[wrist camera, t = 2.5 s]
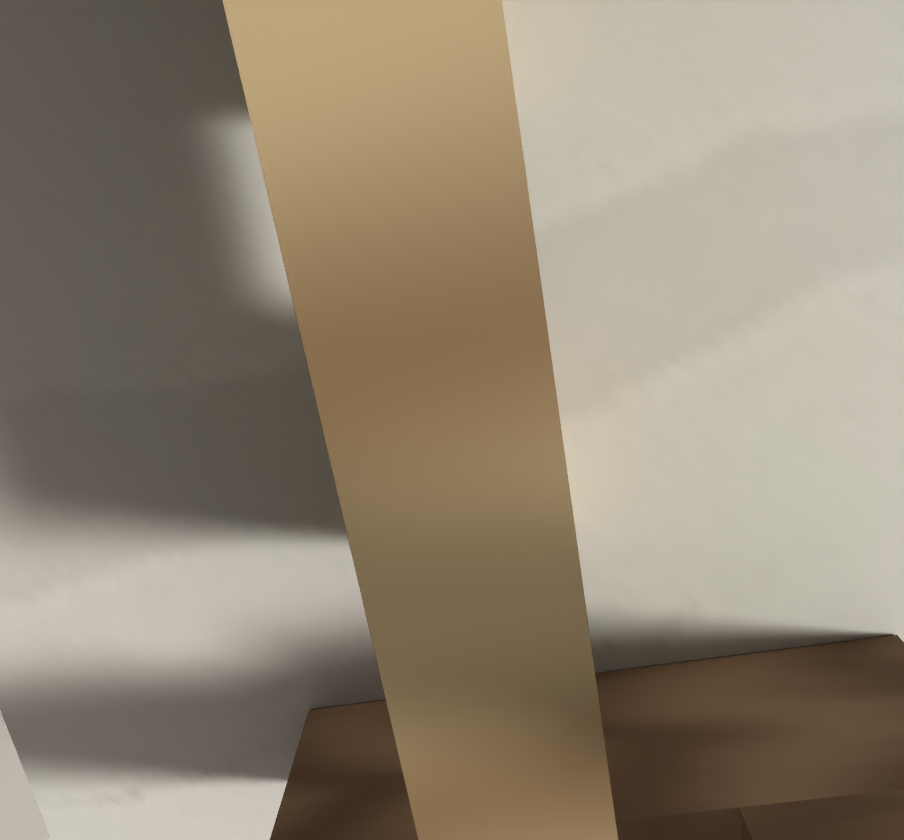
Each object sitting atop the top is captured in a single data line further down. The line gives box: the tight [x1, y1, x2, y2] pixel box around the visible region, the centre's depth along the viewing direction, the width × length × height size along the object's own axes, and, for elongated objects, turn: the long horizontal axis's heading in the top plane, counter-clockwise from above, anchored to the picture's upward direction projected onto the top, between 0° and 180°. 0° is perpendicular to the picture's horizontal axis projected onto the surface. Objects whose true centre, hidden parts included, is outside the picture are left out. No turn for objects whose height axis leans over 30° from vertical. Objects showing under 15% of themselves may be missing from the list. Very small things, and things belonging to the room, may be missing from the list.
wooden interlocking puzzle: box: [222, 0, 618, 840], centre depth 13 cm, size 15×2×10 cm, turn 10°
